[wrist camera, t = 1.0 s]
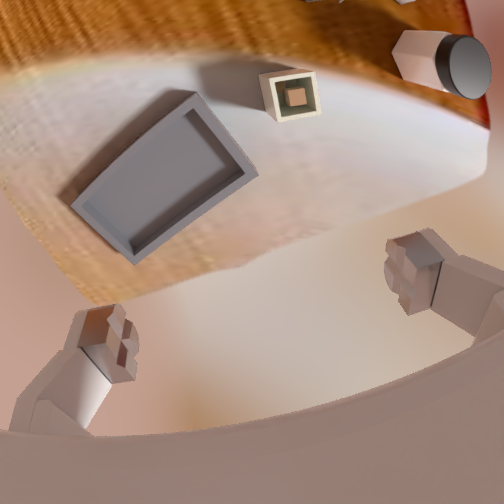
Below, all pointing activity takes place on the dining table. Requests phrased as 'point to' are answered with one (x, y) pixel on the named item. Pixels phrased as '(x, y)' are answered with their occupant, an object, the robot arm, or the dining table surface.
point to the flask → (403, 1)
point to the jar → (444, 62)
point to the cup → (290, 94)
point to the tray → (165, 180)
